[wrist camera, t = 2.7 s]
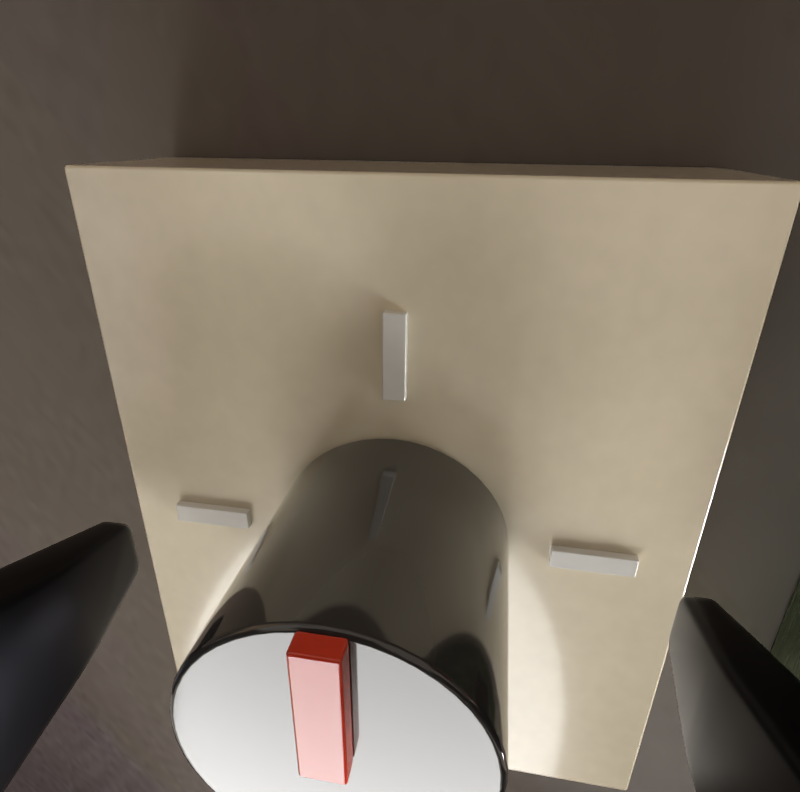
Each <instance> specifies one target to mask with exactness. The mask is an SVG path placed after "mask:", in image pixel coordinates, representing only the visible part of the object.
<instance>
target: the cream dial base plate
mask: <svg viewBox="0 0 800 792" xmlns="http://www.w3.org/2000/svg"><path fill="white" fill-rule="evenodd" d="M65 173H66V178H67V182H68V186H69V191H70V195H71V200H72V204H73V209H74V213H75V218H76V222H77V227H78V231H79V236H80V240H81V245H82V249H83V254H84V258H85V262H86V267H87V271H88V276H89V280H90V285H91V289H92V294H93V298H94V303H95V307H96V312H97V316H98V321H99V325H100V330H101V334H102V338H103V343H104V347H105V352H106V356H107V361H108V365H109V370H110V374H111V379H112V383H113V388H114V392H115V397H116V401H117V406H118V410H119V414H120V419H121V423H122V428H123V432H124V437H125V441H126V446H127V450H128V455H129V459H130V464H131V468H132V473H133V477H134V481H135V486H136V490H137V495H138V499H139V504H140V508H141V513H142V517H143V522H144V526H145V531H146V535H147V540H148V544H149V549H150V553H151V557H152V562H153V566H154V571H155V575H156V580H157V584H158V589H159V593H160V598H161V602H162V607H163V611H164V616H165V620H166V625H167V629H168V633H169V638H170V642H171V647H172V651H173V656H174V660H175V665H176V669H177V672H178V670H179V668H180V666H181V665H182V663H183V661H184V660H185V658H186V657H187V655H188V653H189V652H190V650H191V648H192V647H193V645H194V644H195V642H196V640H197V639H198V637H199V635H200V634H201V632H202V631H203V629H204V627H205V626H206V624H207V622H208V621H209V619H210V618H211V616H212V614H213V613H214V611H215V610H216V608H217V606H218V605H219V603H220V601H221V600H222V598H223V597H224V595H225V593H226V592H227V590H228V588H229V587H230V585H231V584H232V582H233V580H234V579H235V577H236V575H237V574H238V572H239V571H240V569H241V567H242V566H243V564H244V562H245V561H246V559H247V558H248V556H249V554H250V553H251V551H252V549H253V548H254V546H255V545H256V543H257V541H258V540H259V538H260V537H261V535H262V533H263V532H264V530H265V528H266V527H267V525H268V524H269V522H270V520H271V519H272V517H273V515H274V514H275V512H276V511H277V509H278V507H279V506H280V504H281V502H282V501H283V499H284V498H285V496H286V494H287V493H288V491H289V489H290V488H291V486H292V485H293V483H294V481H295V480H296V479H297V477H298V476H299V474H300V473H301V472H302V470H303V469H304V468H306V467H307V466H308V465H309V464H310V463H311V462H312V461H313V460H315V459H316V458H317V457H319V456H320V455H322V454H323V453H325V452H327V451H329V450H331V449H333V448H335V447H338V446H341V445H344V444H347V443H350V442H355V441H359V440H365V439H377V438H383V439H398V440H405V441H411V442H414V443H418V444H422V445H425V446H428V447H430V448H433V449H435V450H438V451H440V452H442V453H444V454H446V455H448V456H450V457H452V458H453V459H455V460H457V461H458V462H459V463H461V464H462V465H464V466H465V467H467V468H468V469H469V470H470V471H471V472H472V473H473V474H475V475H476V476H477V477H478V478H479V479H480V480H481V481H482V483H483V484H484V485H485V486H486V487H487V488H488V490H489V491H490V492H491V494H492V495H493V497H494V498H495V500H496V501H497V503H498V505H499V507H500V509H501V512H502V514H503V516H504V520H505V523H506V526H507V532H508V539H509V607H508V769H509V770H514V771H520V772H526V773H531V774H537V775H542V776H548V777H553V778H559V779H564V780H570V781H575V782H581V783H587V784H592V785H598V786H603V787H609V788H614V789H620V790H627V788H628V784H629V781H630V778H631V774H632V771H633V767H634V764H635V761H636V757H637V754H638V750H639V747H640V744H641V740H642V737H643V733H644V730H645V726H646V723H647V720H648V716H649V713H650V709H651V706H652V703H653V699H654V696H655V692H656V689H657V686H658V682H659V679H660V675H661V672H662V669H663V665H664V662H665V658H666V655H667V652H668V648H669V637H670V633H671V629H672V626H673V622H674V619H675V615H676V612H677V609H678V605H679V602H680V600H681V599H682V598H683V597H684V594H685V590H686V587H687V583H688V580H689V577H690V573H691V570H692V566H693V563H694V560H695V556H696V553H697V549H698V546H699V543H700V539H701V536H702V532H703V529H704V526H705V522H706V519H707V515H708V512H709V509H710V505H711V502H712V498H713V495H714V491H715V488H716V485H717V481H718V478H719V474H720V471H721V468H722V464H723V461H724V457H725V454H726V451H727V447H728V444H729V440H730V437H731V434H732V430H733V427H734V423H735V420H736V417H737V413H738V410H739V406H740V403H741V400H742V396H743V393H744V389H745V386H746V382H747V379H748V376H749V372H750V369H751V365H752V362H753V359H754V355H755V352H756V348H757V345H758V342H759V338H760V335H761V331H762V328H763V325H764V321H765V318H766V314H767V311H768V308H769V304H770V301H771V297H772V294H773V291H774V287H775V284H776V280H777V277H778V274H779V270H780V267H781V263H782V260H783V256H784V253H785V250H786V246H787V243H788V239H789V236H790V233H791V229H792V226H793V222H794V219H795V216H796V212H797V209H798V205H799V202H800V181H796V180H790V179H785V178H779V177H773V176H767V175H761V174H755V173H749V172H743V171H737V170H731V169H725V168H705V167H653V166H602V165H550V164H499V163H447V162H396V161H344V160H293V159H241V158H189V157H168V158H154V159H140V160H127V161H113V162H100V163H86V164H73V165H67V166H65Z"/></svg>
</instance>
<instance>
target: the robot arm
mask: <svg viewBox="0 0 800 792" xmlns="http://www.w3.org/2000/svg"><path fill="white" fill-rule="evenodd" d="M137 571H138V556H137V552H136V548H135V544H134V540H133V535H132V531H131V529H130V528H129V526H128V525H125V524H121V523H113V522H103V523H100V524H98V525H96V526H93V527H91V528H89V529H87V530H85V531H82V532H80V533H78V534H76V535H74V536H71V537H69V538H67V539H65V540H62V541H60V542H58V543H56V544H54V545H51V546H49V547H47V548H45V549H43V550H40V551H38V552H36V553H34V554H32V555H29V556H27V557H25V558H23V559H20V560H18V561H16V562H14V563H12V564H9V565H7V566H5V567H3V568H1V569H0V792H4V790H5V789H6V787H7V786H8V784H9V783H10V781H11V780H12V778H13V777H14V775H15V774H16V772H17V771H18V769H19V768H20V766H21V765H22V763H23V762H24V760H25V759H26V757H27V756H28V754H29V753H30V751H31V749H32V748H33V746H34V745H35V743H36V742H37V740H38V739H39V737H40V736H41V734H42V733H43V731H44V730H45V728H46V727H47V725H48V724H49V722H50V721H51V719H52V718H53V716H54V715H55V713H56V712H57V710H58V709H59V707H60V706H61V704H62V702H63V701H64V699H65V698H66V696H67V695H68V693H69V692H70V690H71V689H72V687H73V686H74V684H75V683H76V681H77V680H78V678H79V677H80V675H81V674H82V672H83V671H84V669H85V667H86V666H87V664H88V663H89V661H90V659H91V658H92V656H93V654H94V653H95V651H96V649H97V647H98V646H99V644H100V642H101V640H102V638H103V637H104V635H105V633H106V631H107V629H108V627H109V625H110V623H111V622H112V620H113V618H114V616H115V614H116V612H117V610H118V608H119V607H120V605H121V603H122V601H123V599H124V597H125V595H126V593H127V592H128V590H129V588H130V586H131V584H132V582H133V580H134V578H135V576H136V574H137ZM669 652H670V659H671V665H672V671H673V677H674V683H675V689H676V695H677V701H678V708H679V714H680V720H681V726H682V732H683V738H684V744H685V749H686V754H687V759H688V763H689V767H690V771H691V775H692V779H693V782H694V786H695V790H696V792H800V680H799V679H798V678H797V677H796V676H795V675H794V674H793V673H792V672H790V671H789V670H788V669H787V668H786V667H785V666H784V665H783V664H782V663H781V662H780V661H779V660H778V659H777V658H775V657H774V656H773V655H772V654H771V653H770V652H769V651H768V650H767V649H766V648H765V647H764V646H763V645H762V644H760V643H759V642H758V641H757V640H756V639H755V638H754V637H753V636H752V635H751V634H750V633H749V632H748V631H747V630H745V629H744V628H743V627H742V626H741V625H740V624H739V623H738V622H737V621H736V620H735V619H734V618H733V617H732V616H730V615H729V614H728V613H727V612H726V611H725V610H724V609H723V608H722V607H721V606H720V605H719V604H718V603H716V602H715V601H713V600H711V599H708V598H700V597H692V596H685V597H683V598H682V599H681V600H680V602H679V605H678V609H677V612H676V615H675V619H674V622H673V626H672V629H671V633H670V637H669Z"/></svg>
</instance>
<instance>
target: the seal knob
mask: <svg viewBox="0 0 800 792" xmlns="http://www.w3.org/2000/svg"><path fill="white" fill-rule="evenodd" d="M508 607H509V539H508V532H507V526H506V523H505V520H504V516H503V514H502V512H501V509H500V507H499V505H498V503H497V501H496V500H495V498H494V497H493V495H492V494H491V492H490V491H489V490H488V488H487V487H486V486H485V485H484V484H483V483H482V481H481V480H480V479H479V478H478V477H477V476H476V475H475V474H473V473H472V472H471V471H470V470H469V469H468V468H467V467H465V466H464V465H462V464H461V463H459V462H458V461H457V460H455V459H453V458H452V457H450V456H448V455H446V454H444V453H442V452H440V451H438V450H435V449H433V448H430V447H428V446H425V445H422V444H418V443H414V442H411V441H405V440H398V439H383V438H377V439H365V440H359V441H355V442H350V443H347V444H344V445H341V446H338V447H335V448H333V449H331V450H329V451H327V452H325V453H323V454H322V455H320V456H319V457H317V458H316V459H315V460H313V461H312V462H311V463H310V464H309V465H308V466H307V467H306V468H304V469H303V470H302V472H301V473H300V474H299V476H298V477H297V479H296V480H295V481H294V483H293V485H292V486H291V488H290V489H289V491H288V493H287V494H286V496H285V498H284V499H283V501H282V502H281V504H280V506H279V507H278V509H277V511H276V512H275V514H274V515H273V517H272V519H271V520H270V522H269V524H268V525H267V527H266V528H265V530H264V532H263V533H262V535H261V537H260V538H259V540H258V541H257V543H256V545H255V546H254V548H253V549H252V551H251V553H250V554H249V556H248V558H247V559H246V561H245V562H244V564H243V566H242V567H241V569H240V571H239V572H238V574H237V575H236V577H235V579H234V580H233V582H232V584H231V585H230V587H229V588H228V590H227V592H226V593H225V595H224V597H223V598H222V600H221V601H220V603H219V605H218V606H217V608H216V610H215V611H214V613H213V614H212V616H211V618H210V619H209V621H208V622H207V624H206V626H205V627H204V629H203V631H202V632H201V634H200V635H199V637H198V639H197V640H196V642H195V644H194V645H193V647H192V648H191V650H190V652H189V653H188V655H187V657H186V658H185V660H184V661H183V663H182V665H181V666H180V668H179V670H178V672H177V674H176V677H175V679H174V682H173V686H172V690H171V696H170V717H171V724H172V728H173V731H174V734H175V737H176V740H177V742H178V744H179V746H180V748H181V750H182V752H183V754H184V756H185V757H186V759H187V760H188V762H189V763H190V765H191V766H192V768H193V769H194V770H195V771H196V773H197V774H198V775H199V776H200V777H201V779H202V780H203V781H204V782H205V783H206V784H207V785H208V786H209V787H210V788H211V789H212V790H213V791H214V792H505V790H506V787H507V783H508Z"/></svg>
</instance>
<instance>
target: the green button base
mask: <svg viewBox="0 0 800 792" xmlns="http://www.w3.org/2000/svg"><path fill="white" fill-rule="evenodd" d="M770 653H771V654H772V655H773V656H774V657H775V658H777V659H778V660H779V661H780V662H781V663H782V664H783V665H784V666H785V667H786V668H787V669H788V670H789V671H790V672H792V673H793V674H794V675H795V676H796V677H797V678H798V679H799V680H800V580H799V582H798V585H797V587H796V590H795V592H794V595H793V597H792V600H791V602H790V605H789V607H788V610H787V612H786V615H785V617H784V620H783V622H782V625H781V627H780V629H779V632H778V634H777V637H776V639H775V642H774V644H773V647H772V649H771V652H770Z"/></svg>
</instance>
